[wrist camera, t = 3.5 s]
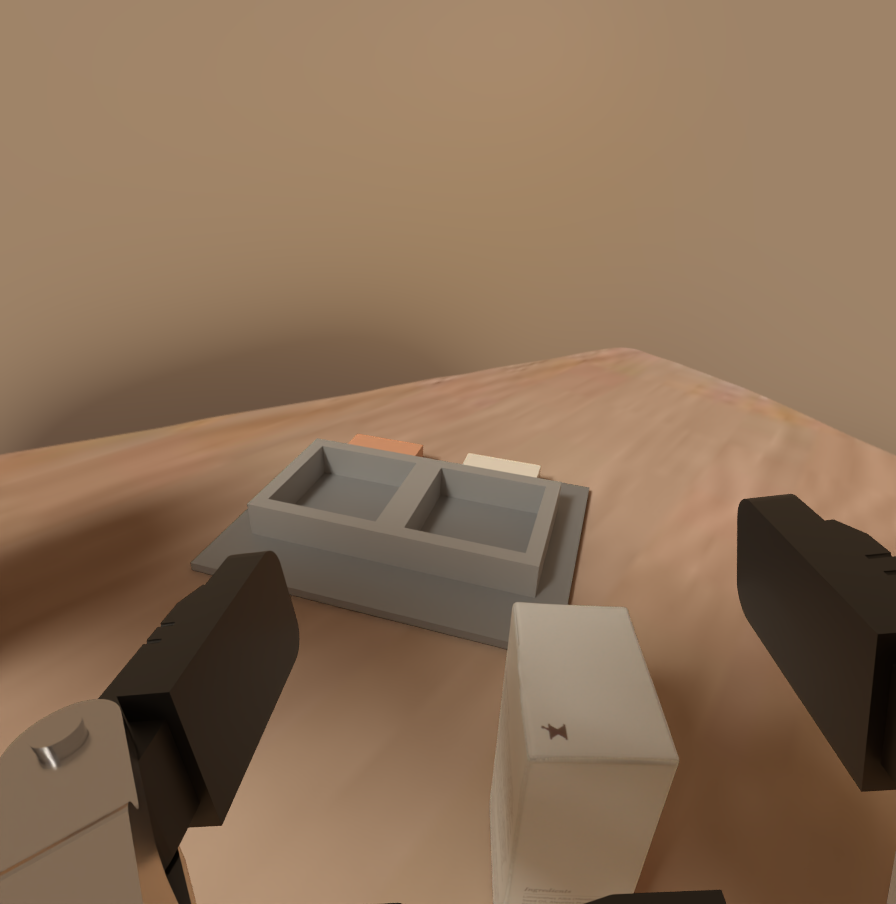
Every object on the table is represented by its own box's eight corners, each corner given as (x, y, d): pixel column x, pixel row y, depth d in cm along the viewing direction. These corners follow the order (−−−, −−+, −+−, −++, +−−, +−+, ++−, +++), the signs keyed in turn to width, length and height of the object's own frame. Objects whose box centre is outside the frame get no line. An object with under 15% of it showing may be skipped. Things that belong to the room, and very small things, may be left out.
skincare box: (612, 971, 21) (686, 768, 16) (493, 967, 22) (522, 761, 16) (583, 802, 27) (630, 602, 21) (487, 798, 27) (507, 597, 21)
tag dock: (192, 569, 39) (183, 532, 38) (320, 445, 54) (318, 414, 53) (557, 661, 34) (563, 621, 32) (588, 493, 49) (593, 460, 47)
